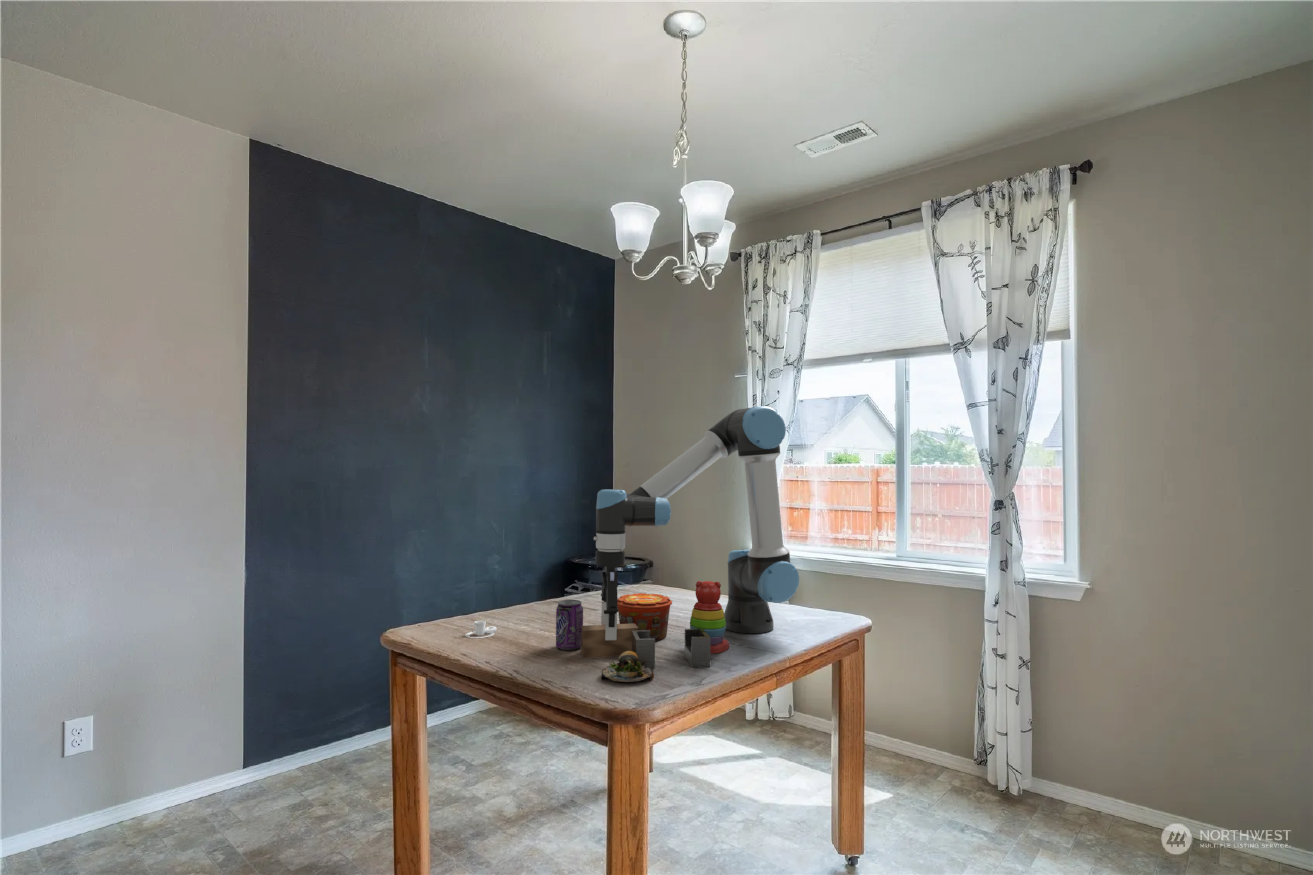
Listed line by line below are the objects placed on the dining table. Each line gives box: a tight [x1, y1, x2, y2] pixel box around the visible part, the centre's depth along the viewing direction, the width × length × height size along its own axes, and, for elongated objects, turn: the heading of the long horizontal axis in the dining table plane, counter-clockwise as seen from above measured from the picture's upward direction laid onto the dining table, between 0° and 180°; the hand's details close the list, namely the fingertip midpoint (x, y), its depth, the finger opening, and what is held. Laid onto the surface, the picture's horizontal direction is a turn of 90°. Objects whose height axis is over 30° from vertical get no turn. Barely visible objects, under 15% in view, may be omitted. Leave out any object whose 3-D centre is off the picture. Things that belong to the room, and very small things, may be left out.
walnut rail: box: [580, 623, 638, 659], centre depth 177 cm, size 14×5×7 cm, turn 103°
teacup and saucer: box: [464, 620, 497, 639], centre depth 195 cm, size 9×8×4 cm
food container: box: [617, 592, 673, 642], centre depth 194 cm, size 16×16×11 cm
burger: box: [600, 651, 655, 683], centre depth 157 cm, size 12×12×8 cm
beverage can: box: [555, 599, 584, 651], centre depth 182 cm, size 7×7×12 cm
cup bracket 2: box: [684, 628, 711, 669], centre depth 170 cm, size 4×9×7 cm, turn 9°
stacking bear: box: [689, 580, 730, 655], centre depth 182 cm, size 11×10×18 cm
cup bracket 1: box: [632, 630, 656, 670], centre depth 168 cm, size 4×9×7 cm, turn 9°
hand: (608, 633), depth 177 cm, fingers open, 13 cm apart
